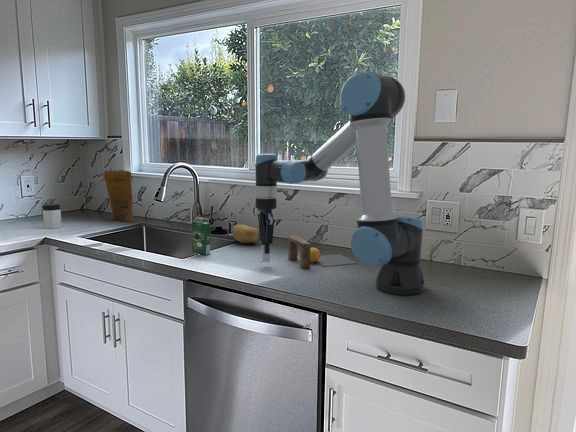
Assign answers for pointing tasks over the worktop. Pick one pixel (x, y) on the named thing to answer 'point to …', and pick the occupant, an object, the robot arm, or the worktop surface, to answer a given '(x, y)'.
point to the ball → (314, 254)
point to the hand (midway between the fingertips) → (265, 261)
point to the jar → (51, 216)
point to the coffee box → (201, 237)
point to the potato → (245, 233)
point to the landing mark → (334, 260)
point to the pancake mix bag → (119, 194)
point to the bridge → (305, 251)
